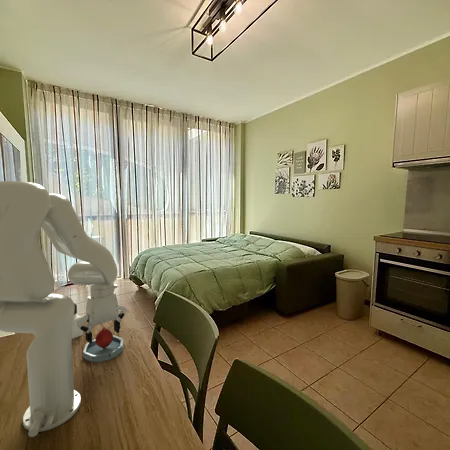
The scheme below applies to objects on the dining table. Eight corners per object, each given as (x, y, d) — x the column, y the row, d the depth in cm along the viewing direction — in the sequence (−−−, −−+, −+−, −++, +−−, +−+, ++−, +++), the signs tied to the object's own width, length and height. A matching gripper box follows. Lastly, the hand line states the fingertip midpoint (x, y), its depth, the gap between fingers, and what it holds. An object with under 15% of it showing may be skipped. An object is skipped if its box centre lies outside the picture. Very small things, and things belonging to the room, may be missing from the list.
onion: (96, 345, 94) (95, 325, 94) (112, 342, 97) (112, 322, 96) (95, 354, 89) (94, 332, 89) (113, 350, 92) (112, 329, 91)
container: (74, 329, 108) (73, 299, 107) (83, 334, 104) (81, 304, 102) (53, 336, 102) (52, 305, 100) (62, 343, 97) (60, 310, 96)
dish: (122, 358, 89) (122, 352, 89) (79, 365, 85) (79, 359, 85) (124, 338, 101) (124, 333, 101) (87, 343, 97) (87, 338, 97)
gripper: (120, 283, 100) (121, 324, 101) (71, 294, 87) (73, 342, 89) (130, 287, 95) (131, 331, 96) (79, 300, 82) (81, 351, 84)
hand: (103, 336), depth 93 cm, fingers open, 9 cm apart
